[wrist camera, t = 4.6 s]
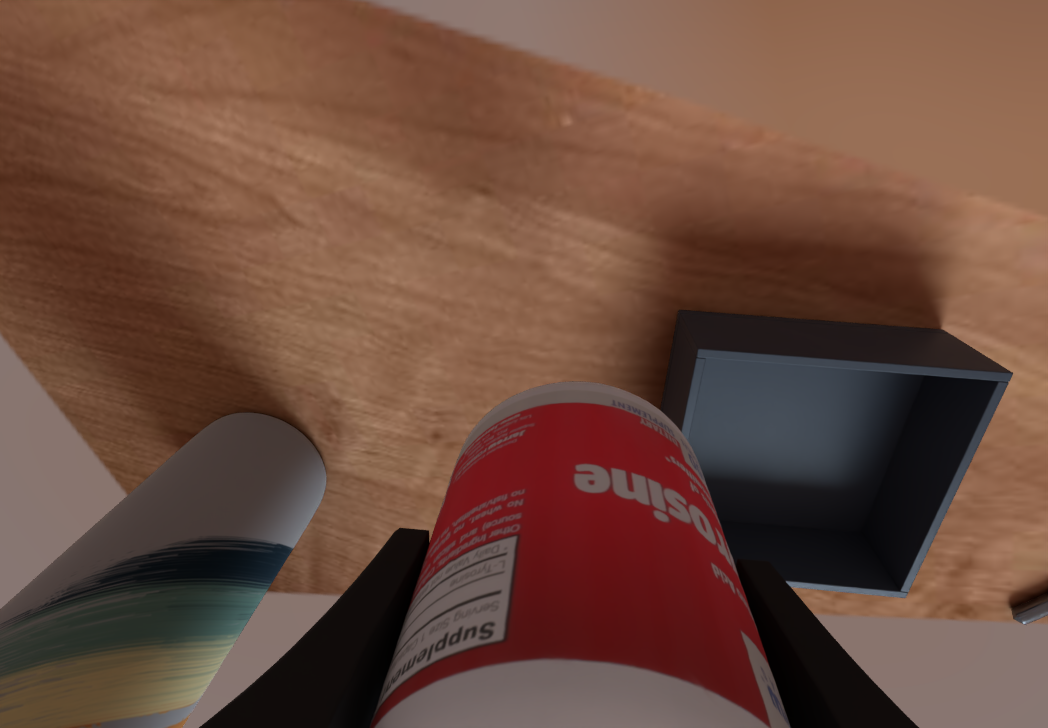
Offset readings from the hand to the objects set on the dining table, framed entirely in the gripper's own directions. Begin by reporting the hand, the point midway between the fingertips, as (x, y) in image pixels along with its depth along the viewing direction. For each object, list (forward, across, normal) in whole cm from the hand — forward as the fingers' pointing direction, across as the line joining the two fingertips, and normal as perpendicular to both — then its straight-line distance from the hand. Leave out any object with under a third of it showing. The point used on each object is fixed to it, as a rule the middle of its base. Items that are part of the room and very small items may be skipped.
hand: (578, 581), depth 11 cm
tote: (+10, -8, +2) cm, 13 cm away
